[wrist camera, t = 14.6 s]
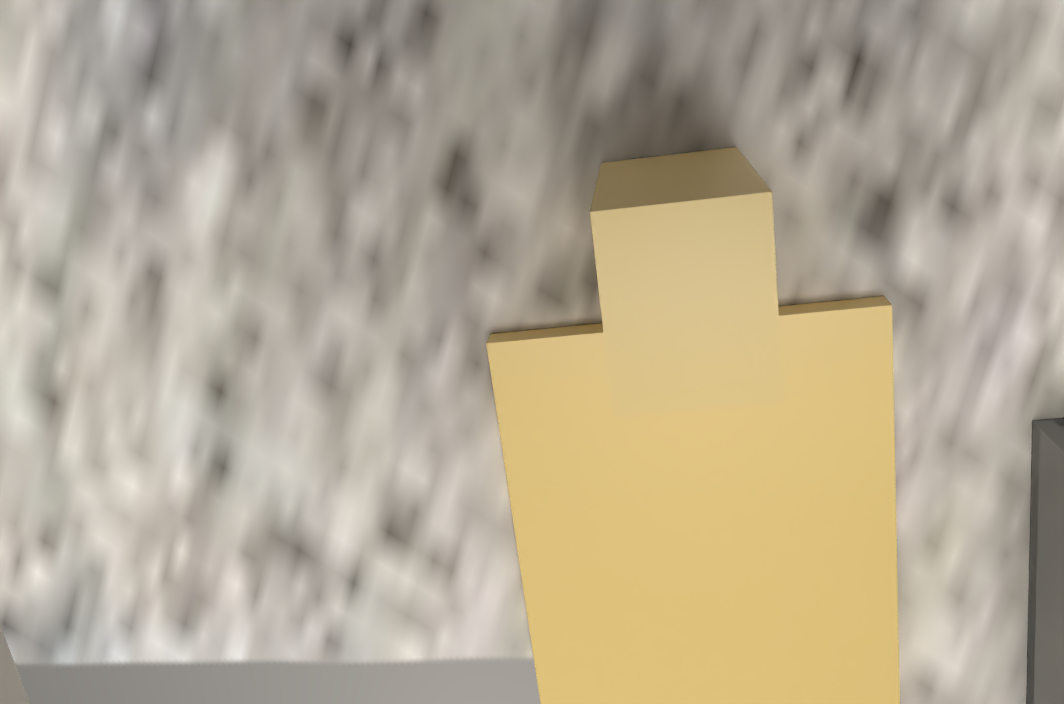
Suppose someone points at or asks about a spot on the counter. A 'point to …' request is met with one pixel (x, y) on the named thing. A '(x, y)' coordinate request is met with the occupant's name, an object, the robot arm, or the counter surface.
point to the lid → (703, 462)
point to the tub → (1046, 565)
